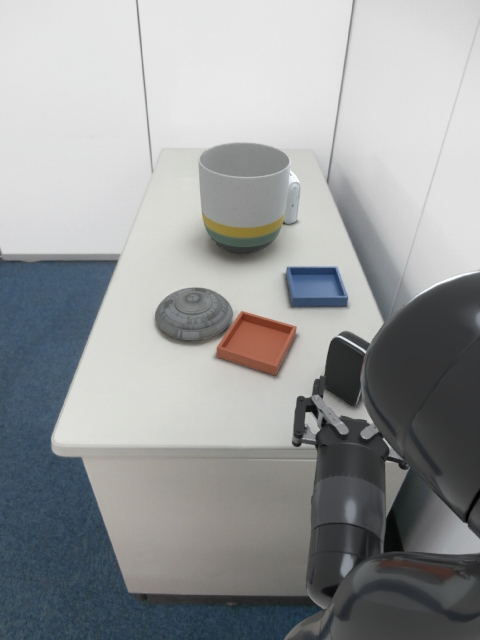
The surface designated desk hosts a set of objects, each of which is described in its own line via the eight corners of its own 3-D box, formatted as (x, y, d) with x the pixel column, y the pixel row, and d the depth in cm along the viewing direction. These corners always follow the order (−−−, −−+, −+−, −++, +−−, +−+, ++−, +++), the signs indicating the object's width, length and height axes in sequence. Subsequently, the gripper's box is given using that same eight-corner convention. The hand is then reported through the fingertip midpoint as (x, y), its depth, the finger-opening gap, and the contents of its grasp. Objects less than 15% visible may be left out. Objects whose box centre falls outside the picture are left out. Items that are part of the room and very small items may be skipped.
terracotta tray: (295, 335, 85) (296, 326, 84) (275, 375, 78) (276, 366, 76) (241, 319, 89) (241, 310, 87) (216, 356, 81) (216, 347, 79)
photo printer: (299, 222, 119) (304, 177, 111) (284, 225, 117) (288, 179, 109) (282, 205, 126) (286, 161, 118) (268, 208, 125) (271, 163, 117)
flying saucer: (141, 334, 85) (137, 311, 81) (176, 289, 96) (174, 267, 92) (215, 354, 81) (214, 331, 78) (243, 305, 92) (243, 283, 88)
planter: (297, 257, 106) (308, 168, 92) (220, 276, 100) (219, 183, 86) (260, 220, 119) (265, 137, 105) (190, 234, 113) (185, 148, 99)
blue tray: (346, 306, 92) (348, 297, 91) (292, 306, 92) (293, 297, 90) (335, 274, 101) (337, 266, 99) (285, 275, 100) (286, 266, 99)
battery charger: (367, 395, 75) (383, 345, 67) (354, 408, 73) (369, 358, 65) (333, 373, 78) (344, 323, 71) (319, 384, 76) (329, 334, 69)
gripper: (429, 496, 44) (417, 376, 56) (285, 464, 46) (304, 356, 58) (408, 531, 49) (402, 414, 61) (279, 501, 51) (297, 394, 63)
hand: (354, 385), depth 60 cm, fingers open, 8 cm apart
